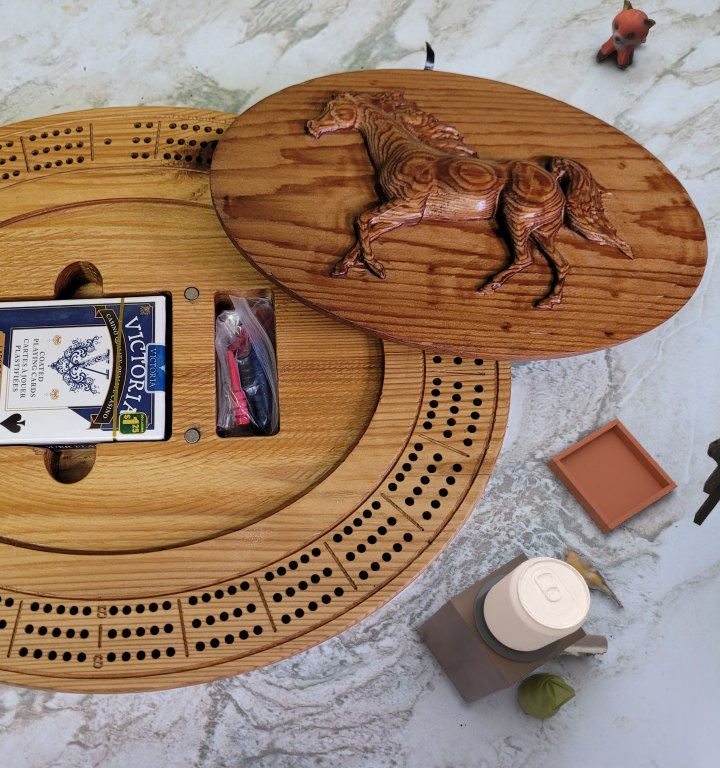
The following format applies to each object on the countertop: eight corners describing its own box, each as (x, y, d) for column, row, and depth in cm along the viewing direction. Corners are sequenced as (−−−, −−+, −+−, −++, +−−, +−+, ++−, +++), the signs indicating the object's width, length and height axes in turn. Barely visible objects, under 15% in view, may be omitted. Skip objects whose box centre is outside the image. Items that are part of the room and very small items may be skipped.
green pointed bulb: (535, 669, 111) (561, 658, 102) (563, 704, 109) (592, 696, 100) (503, 692, 110) (527, 684, 101) (531, 729, 107) (557, 723, 98)
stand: (531, 659, 111) (587, 634, 93) (466, 703, 109) (510, 686, 91) (480, 589, 116) (523, 552, 98) (416, 629, 114) (449, 599, 96)
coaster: (580, 633, 93) (582, 632, 93) (511, 679, 92) (512, 679, 91) (523, 558, 97) (524, 556, 97) (455, 601, 95) (456, 600, 95)
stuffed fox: (654, 52, 160) (684, -2, 149) (619, 81, 157) (647, 29, 146) (622, 32, 162) (649, -22, 152) (586, 61, 159) (611, 8, 149)
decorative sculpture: (560, 549, 118) (578, 535, 111) (628, 579, 116) (651, 566, 109) (526, 654, 112) (544, 646, 105) (598, 688, 109) (620, 681, 103)
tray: (670, 491, 121) (678, 486, 119) (604, 534, 118) (610, 529, 116) (610, 423, 126) (617, 417, 124) (546, 463, 123) (551, 458, 121)
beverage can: (505, 663, 92) (540, 646, 81) (468, 595, 95) (498, 570, 84) (568, 635, 93) (611, 615, 82) (530, 569, 96) (566, 541, 85)
